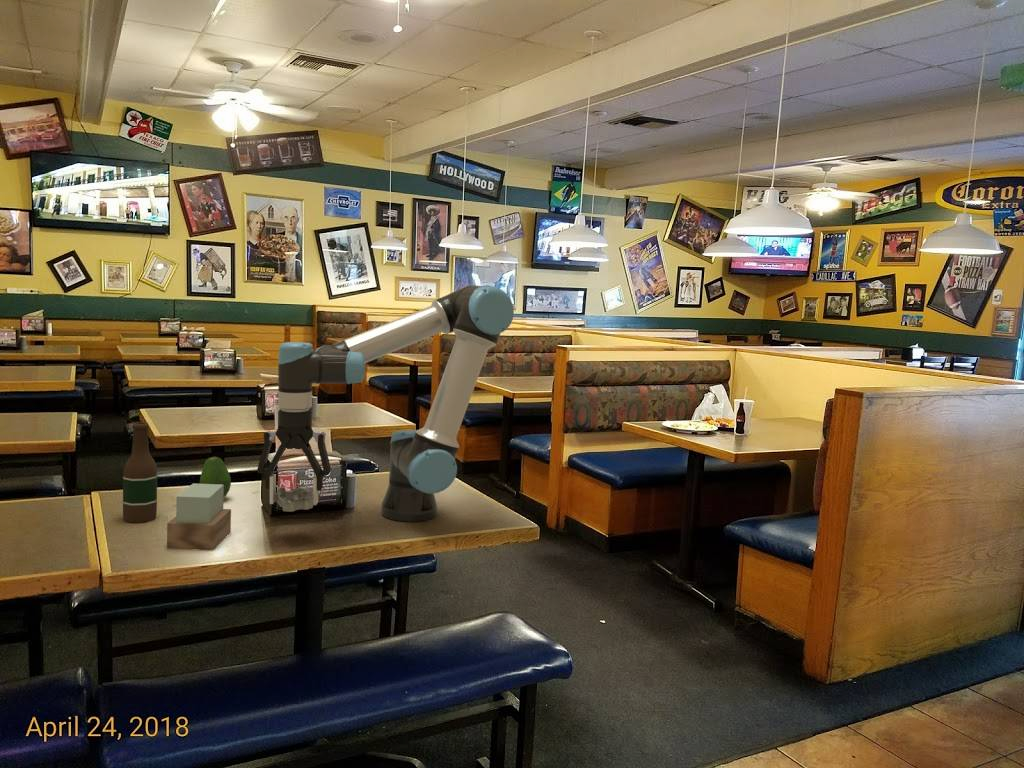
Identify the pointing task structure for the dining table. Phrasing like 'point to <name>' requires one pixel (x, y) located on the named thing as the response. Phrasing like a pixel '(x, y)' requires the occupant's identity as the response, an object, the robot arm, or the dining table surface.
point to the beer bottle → (140, 479)
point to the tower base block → (199, 533)
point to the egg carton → (294, 498)
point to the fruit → (216, 474)
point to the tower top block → (199, 503)
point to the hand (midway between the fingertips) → (294, 502)
